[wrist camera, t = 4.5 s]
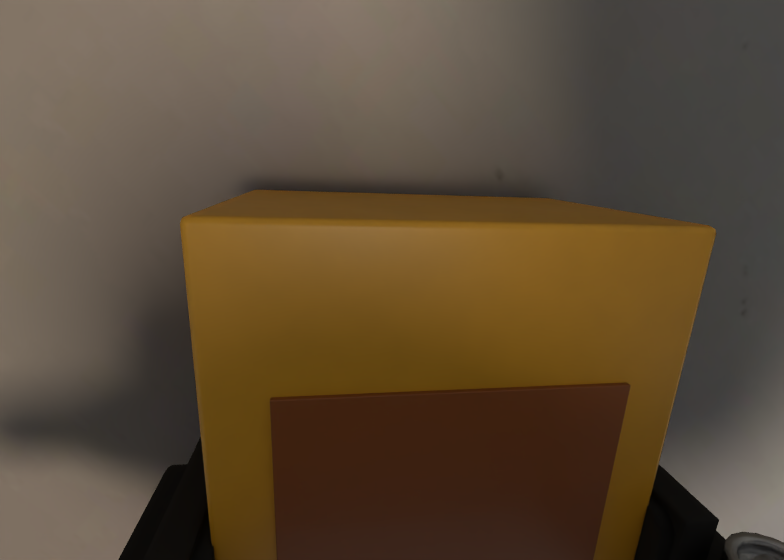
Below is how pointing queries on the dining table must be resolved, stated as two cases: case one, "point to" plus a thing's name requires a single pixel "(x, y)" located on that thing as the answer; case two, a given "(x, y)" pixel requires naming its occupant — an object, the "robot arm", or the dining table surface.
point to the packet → (434, 372)
